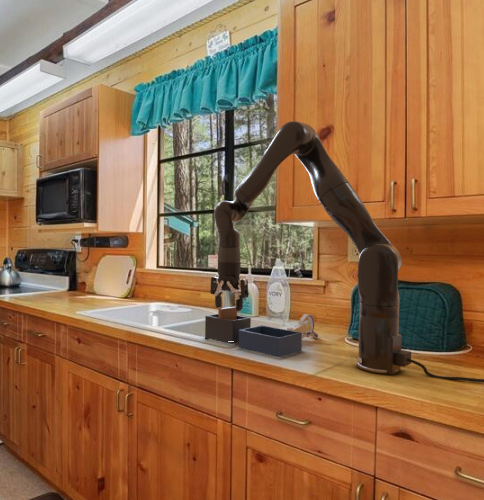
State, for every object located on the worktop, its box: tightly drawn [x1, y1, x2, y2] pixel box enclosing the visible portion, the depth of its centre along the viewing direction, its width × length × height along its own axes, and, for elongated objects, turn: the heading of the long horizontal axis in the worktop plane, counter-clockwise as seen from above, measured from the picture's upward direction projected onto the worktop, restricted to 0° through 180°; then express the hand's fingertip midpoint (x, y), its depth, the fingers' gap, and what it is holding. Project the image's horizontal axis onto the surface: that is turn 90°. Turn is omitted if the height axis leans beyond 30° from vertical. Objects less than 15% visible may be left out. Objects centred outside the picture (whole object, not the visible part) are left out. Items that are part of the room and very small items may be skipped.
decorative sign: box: [286, 313, 319, 340], centre depth 145 cm, size 18×1×10 cm, turn 129°
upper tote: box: [204, 305, 252, 345], centre depth 146 cm, size 12×10×11 cm
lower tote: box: [238, 324, 303, 358], centre depth 133 cm, size 14×12×6 cm
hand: (228, 308), depth 146 cm, fingers open, 8 cm apart
